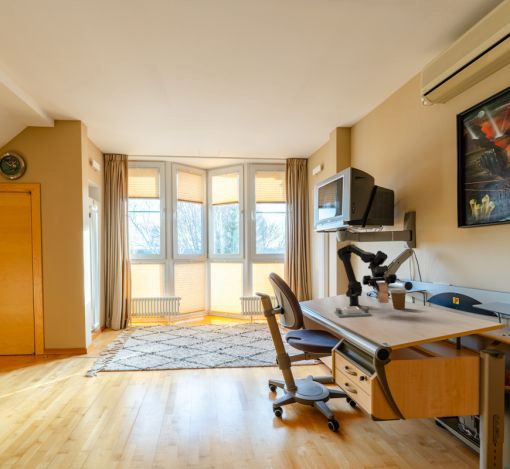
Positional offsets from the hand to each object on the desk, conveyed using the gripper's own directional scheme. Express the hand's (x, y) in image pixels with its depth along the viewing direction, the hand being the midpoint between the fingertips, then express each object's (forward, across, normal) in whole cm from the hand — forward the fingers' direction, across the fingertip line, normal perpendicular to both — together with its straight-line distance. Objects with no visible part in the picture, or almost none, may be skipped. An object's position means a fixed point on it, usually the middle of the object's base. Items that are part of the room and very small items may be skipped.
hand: (383, 291), depth 201 cm
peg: (+4, 0, +6) cm, 7 cm away
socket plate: (+5, -17, +14) cm, 23 cm away
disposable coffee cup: (-2, +14, +21) cm, 25 cm away
